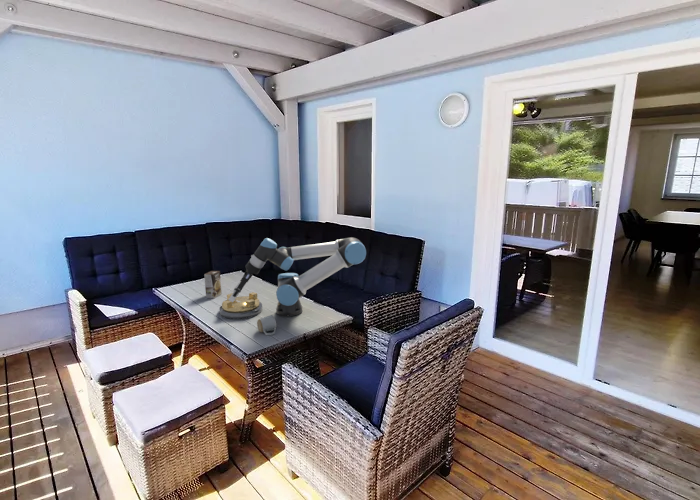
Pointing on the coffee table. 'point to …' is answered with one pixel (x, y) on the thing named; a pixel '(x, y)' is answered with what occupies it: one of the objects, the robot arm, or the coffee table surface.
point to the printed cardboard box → (213, 284)
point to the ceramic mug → (267, 324)
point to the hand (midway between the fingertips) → (232, 296)
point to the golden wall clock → (241, 304)
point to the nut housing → (241, 315)
